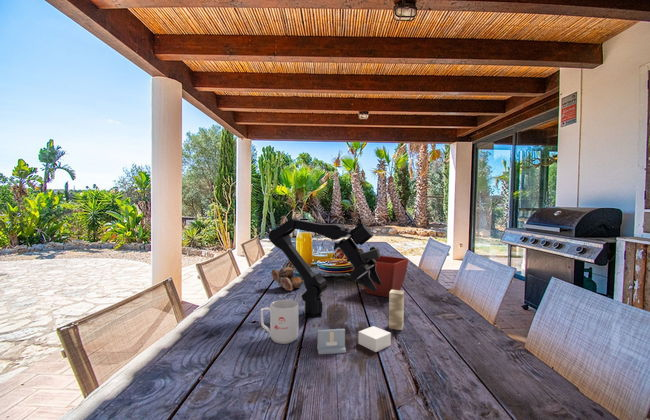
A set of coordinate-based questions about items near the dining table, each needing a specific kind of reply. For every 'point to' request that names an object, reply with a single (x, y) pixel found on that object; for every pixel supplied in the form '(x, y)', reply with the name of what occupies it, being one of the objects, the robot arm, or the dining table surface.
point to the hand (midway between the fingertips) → (378, 287)
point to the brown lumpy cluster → (286, 278)
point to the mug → (282, 321)
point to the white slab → (374, 338)
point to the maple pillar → (396, 309)
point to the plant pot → (389, 275)
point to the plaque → (331, 341)
